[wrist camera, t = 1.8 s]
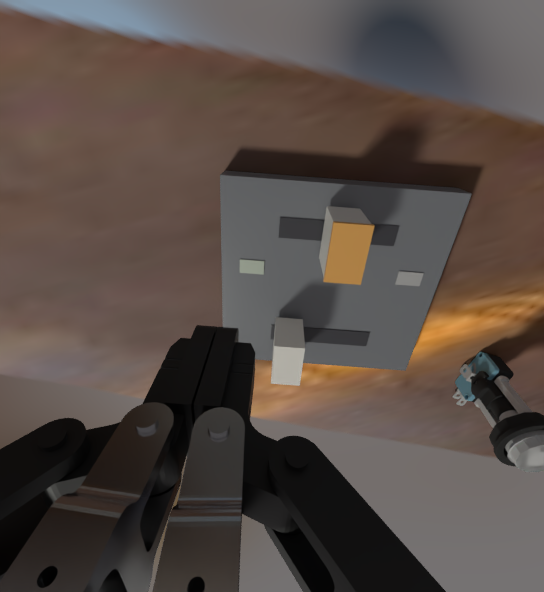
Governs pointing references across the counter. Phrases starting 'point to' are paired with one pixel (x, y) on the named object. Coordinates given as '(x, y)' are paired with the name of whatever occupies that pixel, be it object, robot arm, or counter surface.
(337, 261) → the handle
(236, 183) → the breaker board
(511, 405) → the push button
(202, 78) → the counter surface
